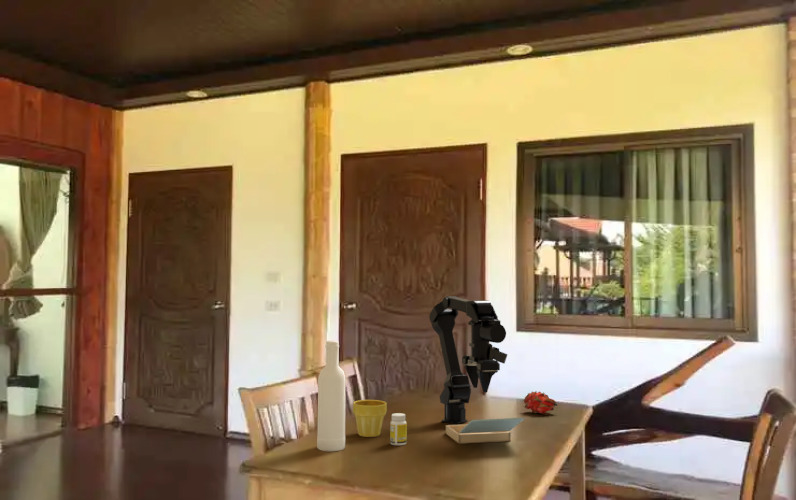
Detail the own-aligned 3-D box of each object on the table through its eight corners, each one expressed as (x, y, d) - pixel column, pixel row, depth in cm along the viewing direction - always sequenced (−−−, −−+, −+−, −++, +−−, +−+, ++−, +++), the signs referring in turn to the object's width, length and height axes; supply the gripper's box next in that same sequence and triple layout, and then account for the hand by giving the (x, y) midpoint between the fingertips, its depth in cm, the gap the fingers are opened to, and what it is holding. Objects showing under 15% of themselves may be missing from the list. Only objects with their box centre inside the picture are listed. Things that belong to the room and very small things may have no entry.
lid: (471, 419, 181) (472, 421, 181) (524, 417, 184) (524, 419, 184) (459, 431, 191) (459, 433, 191) (509, 429, 195) (509, 431, 194)
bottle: (313, 446, 187) (315, 340, 188) (340, 443, 190) (341, 339, 191) (321, 452, 180) (323, 342, 181) (349, 450, 183) (350, 341, 184)
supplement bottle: (408, 442, 192) (408, 413, 192) (403, 446, 187) (403, 416, 188) (393, 441, 193) (393, 412, 194) (387, 444, 189) (388, 415, 189)
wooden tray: (445, 433, 203) (445, 425, 203) (494, 431, 207) (494, 423, 207) (458, 443, 191) (458, 435, 191) (510, 441, 194) (510, 432, 194)
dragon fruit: (521, 415, 239) (554, 423, 234) (519, 405, 232) (554, 413, 228) (526, 395, 243) (559, 402, 239) (525, 384, 237) (558, 391, 232)
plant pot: (392, 432, 204) (392, 401, 204) (377, 440, 194) (377, 406, 195) (362, 429, 208) (362, 398, 209) (346, 436, 199) (346, 403, 199)
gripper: (515, 342, 200) (515, 394, 199) (493, 337, 218) (493, 384, 217) (481, 343, 197) (481, 395, 197) (461, 337, 216) (461, 385, 215)
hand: (480, 390), depth 206 cm, fingers open, 9 cm apart
